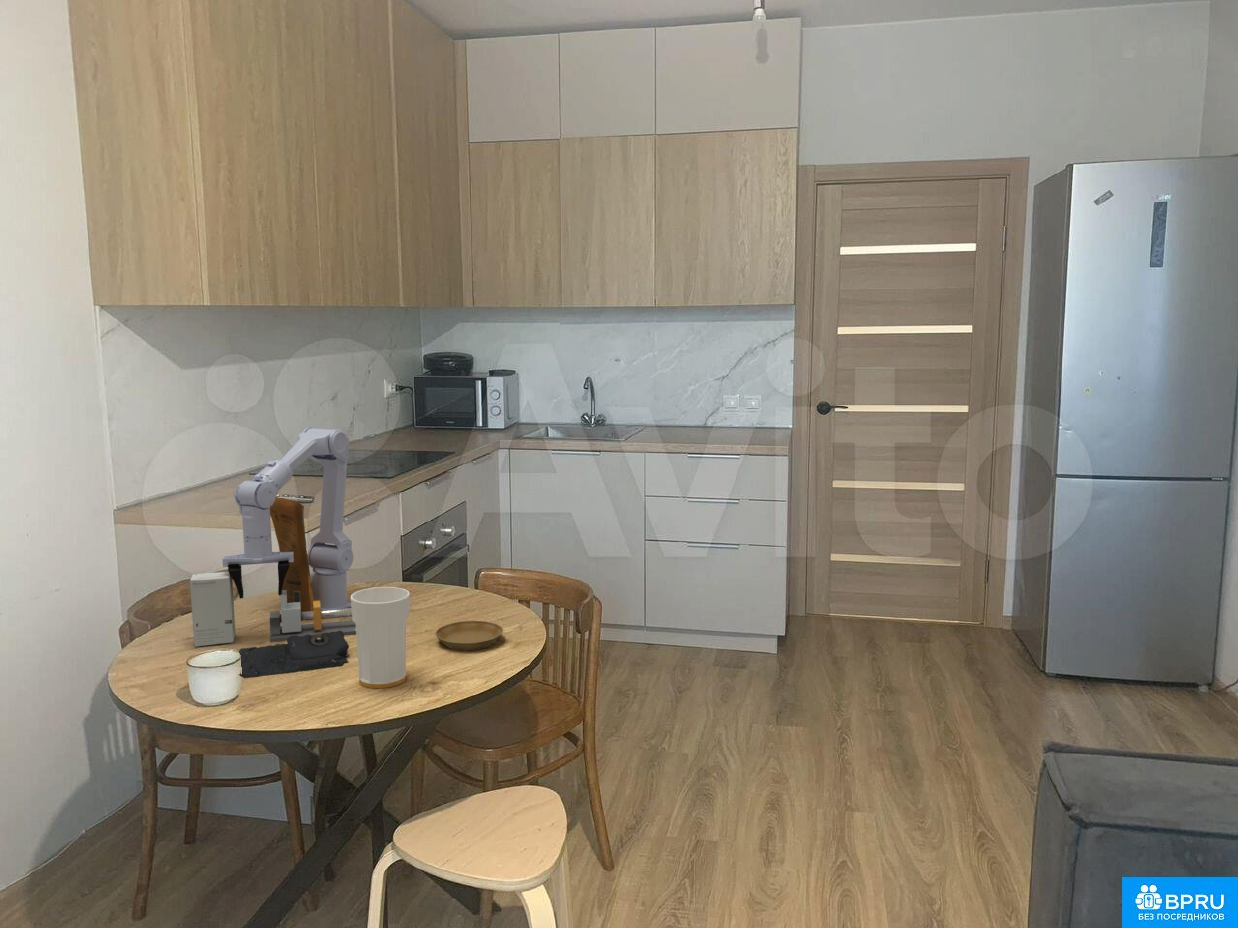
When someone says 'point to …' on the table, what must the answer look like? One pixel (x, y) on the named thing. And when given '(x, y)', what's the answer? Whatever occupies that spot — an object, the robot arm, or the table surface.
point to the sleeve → (290, 614)
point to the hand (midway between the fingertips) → (260, 595)
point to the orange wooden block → (317, 615)
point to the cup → (381, 635)
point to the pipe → (306, 617)
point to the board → (328, 627)
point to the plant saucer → (469, 634)
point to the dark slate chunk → (295, 655)
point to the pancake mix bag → (293, 550)
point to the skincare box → (212, 608)
